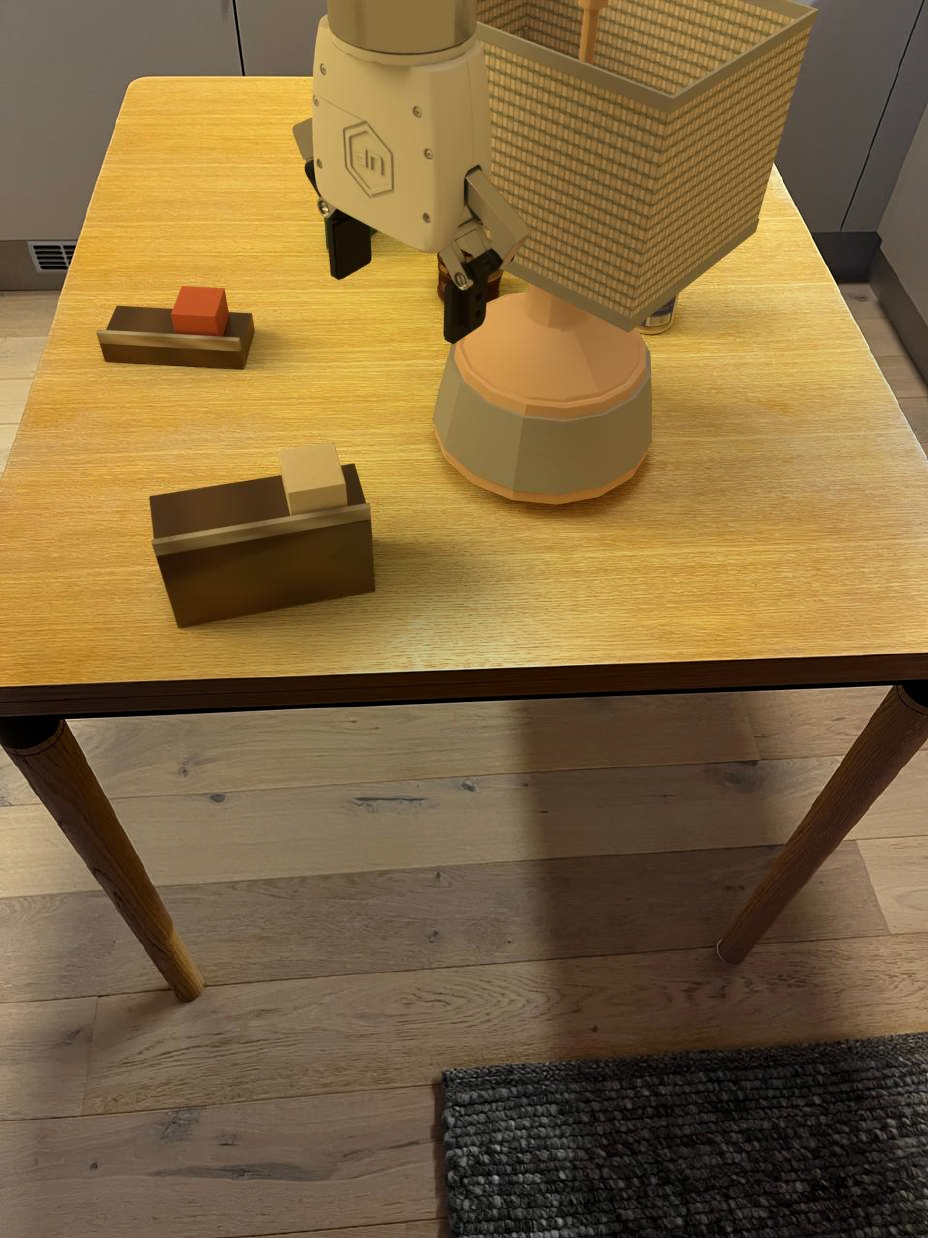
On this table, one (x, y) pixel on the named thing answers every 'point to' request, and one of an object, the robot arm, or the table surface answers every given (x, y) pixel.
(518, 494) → the desk lamp
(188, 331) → the red cube block
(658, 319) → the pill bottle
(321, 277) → the table surface
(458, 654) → the table surface
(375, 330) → the table surface
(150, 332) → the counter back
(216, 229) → the table surface
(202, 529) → the counter front
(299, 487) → the tan block
